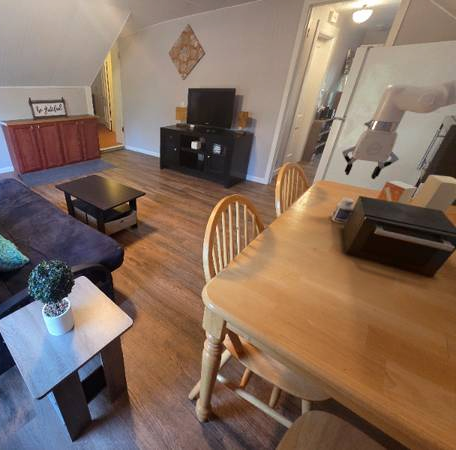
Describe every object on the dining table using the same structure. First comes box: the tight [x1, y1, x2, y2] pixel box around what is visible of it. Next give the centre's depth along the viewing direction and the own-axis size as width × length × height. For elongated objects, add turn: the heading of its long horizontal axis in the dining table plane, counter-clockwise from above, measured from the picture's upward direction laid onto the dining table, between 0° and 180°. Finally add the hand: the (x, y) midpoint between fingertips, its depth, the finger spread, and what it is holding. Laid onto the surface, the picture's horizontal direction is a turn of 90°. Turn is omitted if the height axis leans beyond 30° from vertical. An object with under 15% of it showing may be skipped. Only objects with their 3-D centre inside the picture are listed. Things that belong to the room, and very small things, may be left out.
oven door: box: [344, 216, 456, 278], centre depth 74 cm, size 6×22×15 cm, turn 60°
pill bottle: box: [331, 197, 355, 224], centre depth 100 cm, size 5×5×10 cm
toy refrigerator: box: [409, 174, 456, 215], centre depth 92 cm, size 8×7×21 cm
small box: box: [376, 180, 418, 205], centre depth 107 cm, size 8×6×13 cm
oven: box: [342, 195, 456, 252], centre depth 82 cm, size 16×22×15 cm
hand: (359, 175), depth 92 cm, fingers open, 7 cm apart
